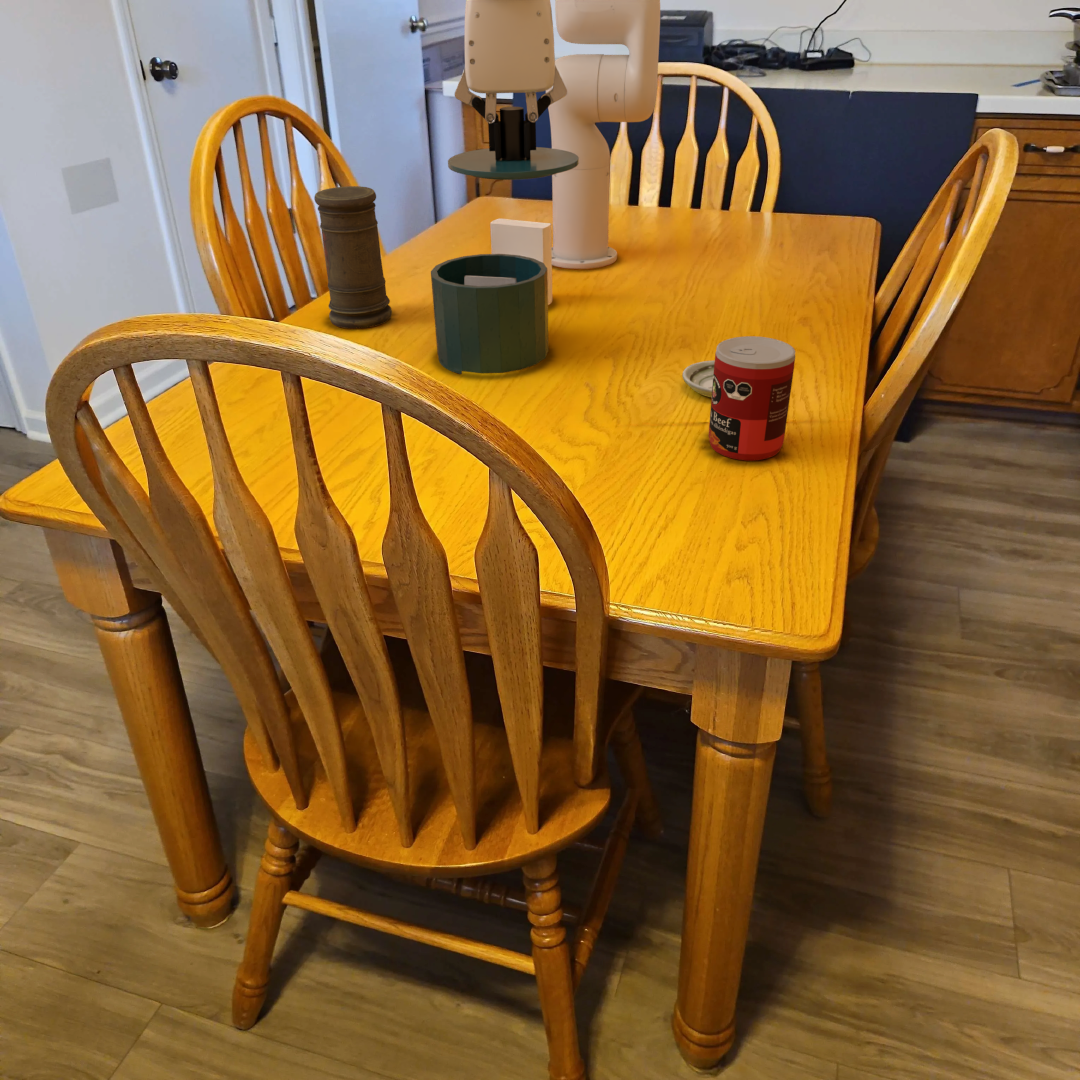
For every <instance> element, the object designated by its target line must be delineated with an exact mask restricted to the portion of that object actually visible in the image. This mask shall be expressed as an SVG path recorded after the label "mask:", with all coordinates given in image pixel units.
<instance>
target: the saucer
mask: <svg viewBox="0 0 1080 1080" xmlns="http://www.w3.org/2000/svg"><path fill="white" fill-rule="evenodd" d="M714 362H715V359H714V360H704V361H699V362H695V363H692V364H690V365H688V366H687V367H686V368H684V370H683V371H682V375H681V376H682V379H683V381H684V382H685V384H686V385H688V387H689V388H691V389H692V390H693V391H694V392H696V393H697V394H699V395H702V396H704V397H708V398H710V399H712V386H713V374H714Z"/></svg>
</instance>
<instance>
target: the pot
mask: <svg viewBox="0 0 1080 1080" xmlns="http://www.w3.org/2000/svg"><path fill="white" fill-rule="evenodd" d="M465 276H485V277H504V278H516V281H517V283H513V284H505V285H498V286H471V285H464V282H465ZM430 278H431V279H430V280H431V281H430V282H431V291H432V292H431V295H432V304H433V305H432V306H433V317H434V329H435V341H436V352H437V358H438V362H439V364H440V365H441V366H442V367H443V368H444V369H446V370H448V371H450V372H452V373H456V374H459V375H462V374H463V373H462V372H467V373H475V374H501V373H502V374H503V373H510V372H516V371H521V370H524V369H528V368H530V367H533V366H536V365H537V364H539V363H541V362H542V361H543V360H545V359H546V357H547V356H548V353H549V349H550V348H549V305H548V280H547V267H546V266H545V265H544V263H542V262H540V261H538V260H536V259H534V258H529V257H524V256H520V255H509V254H492V253H478V254H471V255H464V256H458V257H456V258H451V259H447V260H445V261H442V262H440V263H439V264H436V265H435V266H434V267H433V268H432V269H431V271H430Z"/></svg>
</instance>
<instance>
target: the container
mask: <svg viewBox="0 0 1080 1080" xmlns="http://www.w3.org/2000/svg"><path fill="white" fill-rule="evenodd" d="M313 197H314V203H315V204H317V206H318V207H317V211H318V212H319V218H320V225H319V228H320V230H321V237H322V246H323V252H324V259H325V260H324V261H325V267H326V275H327V288H328V293H329V303H328V309H329V310H330V312H329V315H328V317H329V321H330V323H331V324H332V325H334V326H335V327H338V328H342V329H367V328H373V327H377V326H380V325H382V324H385V323H387V322H388V321H389V320H390V319H391V318H392V314H393V310H392V307H391V306H390V305H389V304H390V303H391V299H390V298H389V297H388V295H387V289H386V278H385V276H384V269H383V262H382V253H381V244H380V237H379V229H378V222H379V221H378V220H377V217H376V206H377V205H376V203H375V201H376V199H377V194H376V191H375V190H374V188H371V187H367V186H359V185H355V186H354V185H349V186H346V185H345V186H338V187H337V186H335V187H330V188H325V189H322V190H319V191H317V192H315V194H314V196H313Z"/></svg>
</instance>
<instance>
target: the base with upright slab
mask: <svg viewBox="0 0 1080 1080" xmlns="http://www.w3.org/2000/svg"><path fill="white" fill-rule="evenodd" d="M489 226H490V227H489V228H490V245H491V247H490V249H491V254H509V255H520V256H524V257H529V258H534V259H536V260H538V261H540V262H542V263H544V265H545V266H546V267H547V280H548V306H549V305H551V304H552V303H553V265H552V247H553V246H552V222H541V221H531V220H520V219H508V218H496V219H494V220H492V221H490V222H489Z"/></svg>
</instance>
